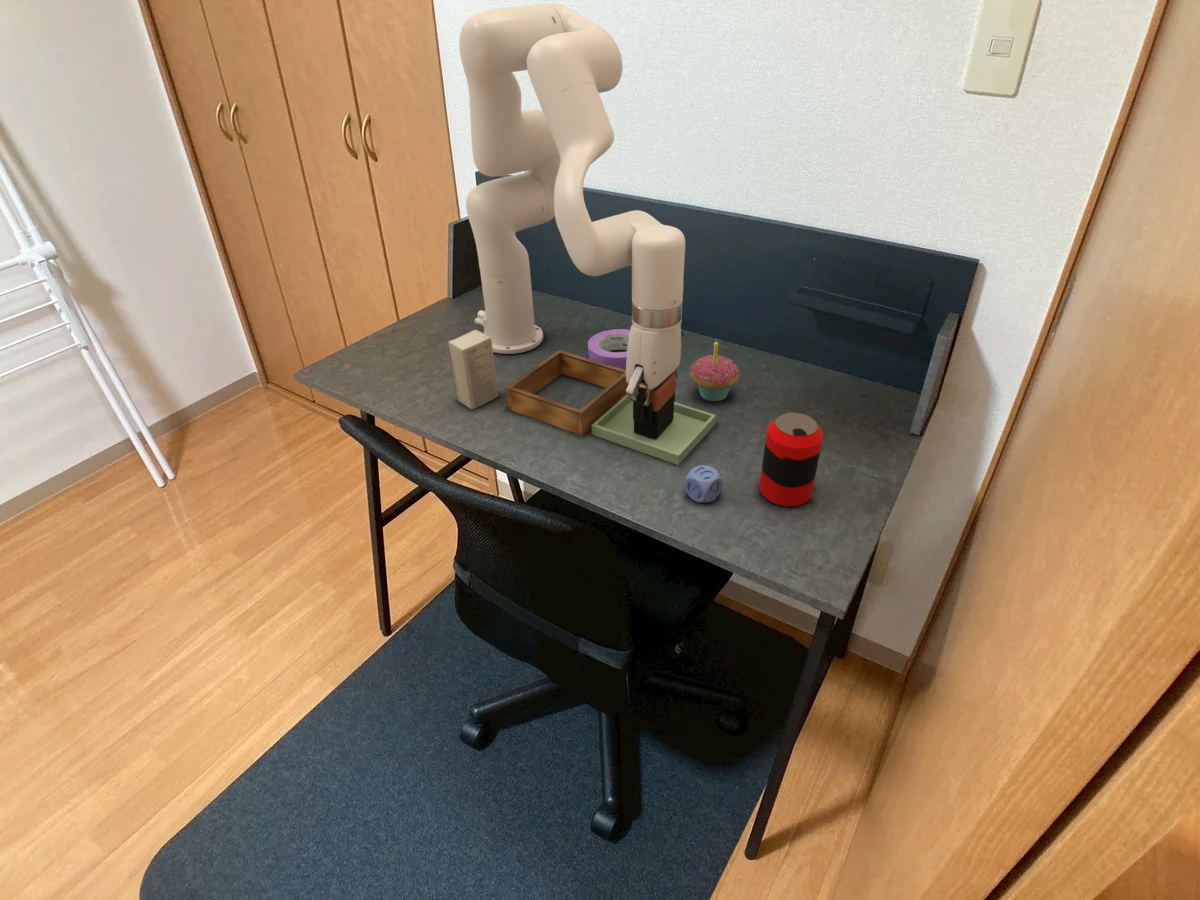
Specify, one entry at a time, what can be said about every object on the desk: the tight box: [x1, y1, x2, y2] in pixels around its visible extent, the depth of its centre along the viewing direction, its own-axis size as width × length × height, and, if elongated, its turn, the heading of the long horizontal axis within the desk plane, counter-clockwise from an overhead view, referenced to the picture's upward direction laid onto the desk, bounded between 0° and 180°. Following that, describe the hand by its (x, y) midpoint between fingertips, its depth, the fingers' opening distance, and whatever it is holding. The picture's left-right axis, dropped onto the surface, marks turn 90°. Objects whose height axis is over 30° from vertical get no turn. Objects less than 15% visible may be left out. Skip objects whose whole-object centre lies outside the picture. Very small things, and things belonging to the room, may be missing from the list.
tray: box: [591, 395, 717, 466], centre depth 120 cm, size 16×13×2 cm
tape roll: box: [587, 328, 630, 370], centre depth 138 cm, size 12×12×4 cm
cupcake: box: [689, 338, 740, 402], centre depth 125 cm, size 9×8×12 cm
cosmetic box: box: [447, 329, 500, 410], centre depth 125 cm, size 6×4×12 cm
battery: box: [634, 374, 676, 439], centre depth 117 cm, size 4×7×10 cm, turn 150°
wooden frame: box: [505, 349, 629, 437], centre depth 126 cm, size 16×16×4 cm
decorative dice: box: [684, 464, 723, 504], centre depth 105 cm, size 4×4×4 cm
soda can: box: [758, 412, 824, 508], centre depth 103 cm, size 8×8×12 cm
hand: (654, 410), depth 118 cm, fingers closed on battery, 7 cm apart
